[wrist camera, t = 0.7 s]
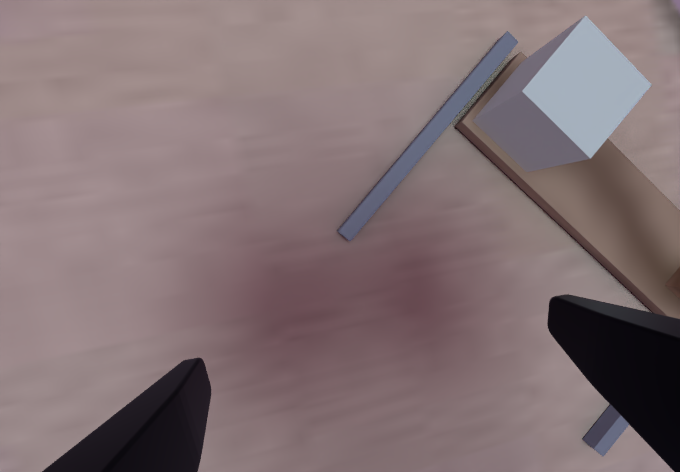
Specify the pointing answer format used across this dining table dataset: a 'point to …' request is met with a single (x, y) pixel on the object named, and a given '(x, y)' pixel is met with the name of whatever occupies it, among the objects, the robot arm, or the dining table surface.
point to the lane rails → (610, 420)
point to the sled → (601, 209)
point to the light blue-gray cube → (563, 100)
